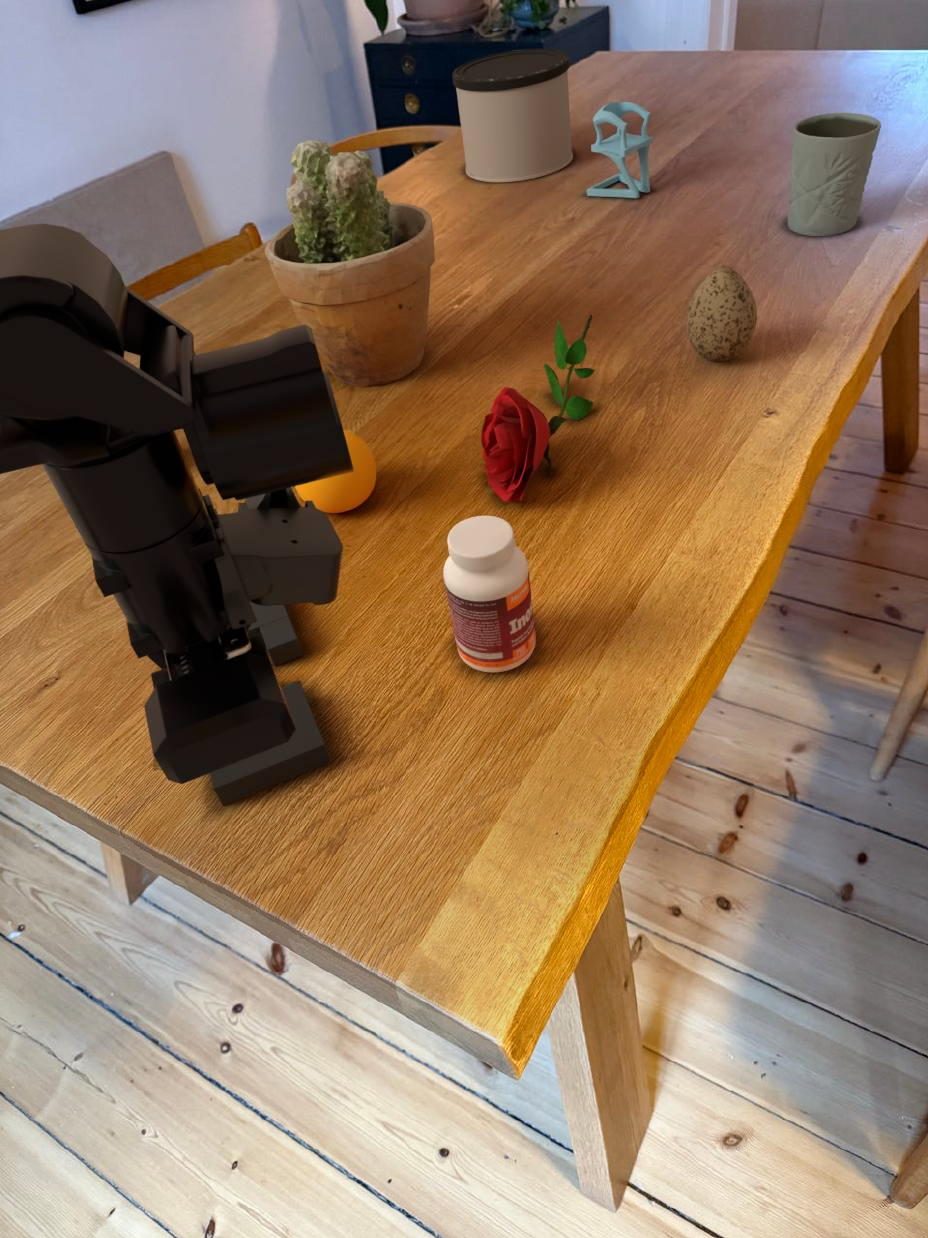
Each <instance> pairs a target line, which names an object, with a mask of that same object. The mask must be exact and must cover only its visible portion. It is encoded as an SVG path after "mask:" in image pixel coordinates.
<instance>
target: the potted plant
mask: <svg viewBox="0 0 928 1238" xmlns="http://www.w3.org/2000/svg"><path fill="white" fill-rule="evenodd" d="M290 157H291V160H290V165H291V166H294V168H293V174H294V175H295V178H296V180H295V182H294V183H293V184H291V186H290V187H285V188H286V199H287V202H288V204H287V206H286V209H287V210H288V211H289V213H290V216H291V217H292V222H291V223H288V224H287V225H285V226H283V228H281V229H280V230H278V232H277V233H276V235H275V236H274V237H272V238H271V239H270V240H269V241H268V242H267V244H266V246H265V247H264V254H265V257H266V258H267V261H268V262H269V264H270V268H271V272H272V274H273V276H274V277H275V281H276V284H277V287H278V288H279V291H280V292H281V293H282V294H283V295H284V296H285V297H286V298H287V299H288V300H289V303H290V304H291V306H292V309H293V311H294V314H295V315H296V318H297V319H298V321H299V323H300V324H301V325H307V326H309V327H311V329H312V333H313V337H314V340H315V344H316V348H317V352H318V354H319V355H320V356H321V358H322V359H323V361H324V363H325V364H326V366H327V369H328V371H329V372H330V374H331V375H332V376H333V377H334V379H335V380H337V381H338V382H341V383H342V384H344V385H345V384H346V385H349V386H352V387H353V386H354V387H359V388H367V387H368V388H369V387H376V386H382V385H385V384H390V383H394V382H396V381H398V380H400V379H403V378H405V377H407V376H408V375H410V374H411V373H413V371H414V370H416V369H417V368H418V367H419V366H420V364H421V362H422V360H423V357H424V355H425V348H426V347H425V346H426V340H427V332H428V320H429V308H430V307H429V306H430V293H431V292H430V290H431V272H432V271H431V270H432V269H431V268H432V266H433V264H434V263H435V261H436V255H435V235H434V226H433V218H432V215H431V213H430V212H428V210H426V209H424V208H422V207H420V206H417V205H415V204H412V203H411V204H410V203H405V202H395V201H394V202H392V201H388V198H387V197H385V195H384V194H385V192H384V190H382V191H381V190H378V188H377V187H378V186H377V185H378V178H377V175H376V173H375V172H374V170H373V166H374V163H373V162H372V155H370V154H369V153H368V152H367V151H363V150H356V151H354V152H353V151H348V150H347V151H345V152H344V151H343V152H341V151H339V152H338V153H333V152H332V149H331V148H330V146H329V145H328V143H327V142H326V141H325V142H324V141H322V140H320V139H319V140H311V139H308V140H305V141H302V142H299V143H298V144H297V146H296V147H294V150H293V151H292V152H291V153H290Z"/></svg>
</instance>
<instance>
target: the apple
mask: <svg viewBox="0 0 928 1238" xmlns="http://www.w3.org/2000/svg"><path fill="white" fill-rule="evenodd" d="M343 431H344V434H345V438H346V442H347V446H348V450H349V454H350V457H351V461H352V465H353V469H354V471H353V472H349V473H345V474H342V475H338V476H334V477H330V478H326V479H322V480H318V481H314V482H310V483H306V484H302V485H298V486H294V487H295V490H296V492H297V494H298V496H299V497H300V498H301V500H303V501H304V502H305V501H313V503H314V505H315V507H316V509H319V510H321V511H323V512H324V513H326V514H328V513H329V514H338V513H345V512H347V511H350V510H354V509H356V508H357V507H359V506H361V505H362V504H363V503H364V502H365V501H366V500H368V498H369V497H370V496H371V494H372V492H373V491H374V489H375V486H376V483H377V462H376V460H375V459H376V458H375V456H374V454H373V452H372V449H371V448H370V447H369V445H368V443H366V441H365V440H364V439H362V438H361V437H360V436H359V435H357V434H355V433H354V432H352V431H350V430H348V429H344V428H343Z"/></svg>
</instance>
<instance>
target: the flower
mask: <svg viewBox="0 0 928 1238" xmlns="http://www.w3.org/2000/svg"><path fill="white" fill-rule="evenodd" d="M593 317H594V316H593V314H590V315H589V316H588V319H587V321H586V323H585V326H584V329H583V332H582V335H581V336H579V338H577V339H576V340H575V341H574V342H573V343H572V344H571V345H570V346H569V345H568V341H567V339H566V337H565V334H564V331H563V327H562V325H561V324H562V323H561V322H560V320H559V319H557V322H556V328H555V335H554V355H555V363H556V366H557V368H559V369H560V370H566V369H567V370H568V371H567V374H566V379H565V384H564V392H563V389H562V387H561V385H560V382H559V381H560V380H559V378H558V375H557V374H556V372H555V370H554V369H553V368H552V367H551V366H549V364H547V363H544V364H543V368H544V370H545V373H546V376H547V379H548V381H549V382H548V383H549V386H550V389H551V392H552V396H553V398H554V400H555V401H556V403H557V404H558V405H559V406H560V411H559V413H558V415H554V416H552V417H551V418H550V420H549V421H548V419H547V417H546V415H545V414H544V413H543V411H541V410H540V408H538V407H537V406H536V405H534V404H533V403H532V402H530V401H529V400H528V399H526V398H525V397H523V395H522V394H520V392H519V391H517V389H515V388H513V387H509V386H504V387H503V388H502V389H501V390H500V392H499V393H498V395H497V396H496V397H495V399H494V400H493V404H492V406H491V411H490V413H488V414H486V415H485V416H484V422H483V424H482V427H481V434H480V435H481V436H480V437H481V438H480V444H481V447H482V458H483V460H484V462H485V463H484V471H485V474H486V475H487V483H488V485H490V486H491V488H492V490H493V491H494V493H495V494H496V495H497V497H498V498H499V499H500V500H502V501H503V502H508V503H514V502H516V501H518V500H519V501H520V502H521V500H522V499H523V496H524V495H525V492H526V490H527V486H528V484H529V481H530V479H531V478H532V476H533V475H534V473H535V472H536V470H537V469H538V467H539V466H540V464H541V462H542V460H543V458H544V460H545V461H546V462H547V465H548V472H549V475H550V476H551V473H552V457H551V456H550V447H551V446H550V439H551V437H552V436H554V435H555V434H556V433H557V432H558V430H559V429H560V427H561V426H562V425H563V424H564V423H565V422H568V421H569V419H571V420H574V421H579V420H582V419H584V418H585V417H587V416H588V414H589V413H590V411H591V410H592V407H593V404H594V401H592V400H589V399H587V398H585V397H582V396H579V395H574V396H571V397H570V398H569V399H568V396H569V388H570V381H571V376H572V374H573V371H574V373H575V374H576V376H577V377H578V378H579V379H582V380H585V379H588V378H590V377H591V376H593V374H594V373H595V371H596V369H593V368H590V367H575V365H580V364H583V362H584V360H585V358H586V356H587V352H588V351H587V350H588V348H587V347H588V346H587V345H586V342H585V339H586V337H587V333H588V331H589V329H590V327H591V326H590V325H591V323H592V320H593ZM568 365H570V366H569V367H567V366H568ZM564 412H565V413H566V415H567V417H568V418H569V419H568V418H565V417H563V415H564Z"/></svg>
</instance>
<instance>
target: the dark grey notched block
mask: <svg viewBox="0 0 928 1238" xmlns="http://www.w3.org/2000/svg"><path fill="white" fill-rule="evenodd" d="M250 603H251V606H252V608H253V611H254V613H255V616H256V619H257V622H254V623H252V624H251V626H250V627H249V629H248V631H247V635H248V637H251V636H253V635H256V634H259V633H260V634H261V637H262V640H263V643H264V645H265V648H266V651H267V653H268V656H269V658H270V661H271V663H272V666H273V667H277V666H279V665H282V664H286V663H288V662H290V661H293V660H296V659H298V658H301V657H303V656H304V655H305V654H304V651H303V648H302V647H301V643H300V641H299V638H298V636H297V634H296V631H295V628H294V625H293V623H292V621H291V618H290V616H289V614H288V611H287V608H286V606H285V605H274V606H261V605H257V604H254V603H252V602H251V601H250Z"/></svg>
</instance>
